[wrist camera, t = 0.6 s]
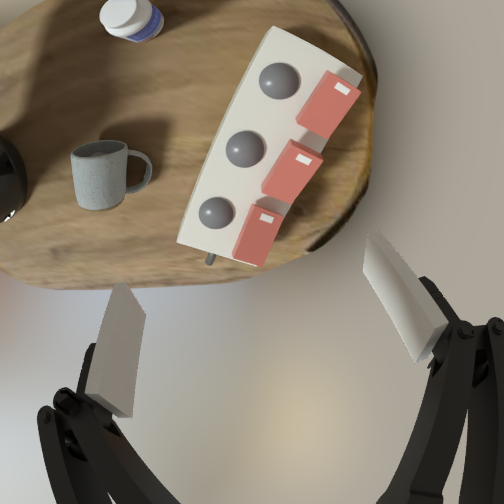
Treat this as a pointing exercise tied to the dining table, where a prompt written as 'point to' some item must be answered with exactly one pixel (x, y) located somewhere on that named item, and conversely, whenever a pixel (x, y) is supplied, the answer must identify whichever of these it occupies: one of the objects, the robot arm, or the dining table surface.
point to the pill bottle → (132, 19)
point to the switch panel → (256, 140)
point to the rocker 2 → (291, 172)
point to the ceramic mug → (104, 174)
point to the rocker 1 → (257, 235)
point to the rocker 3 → (327, 105)
